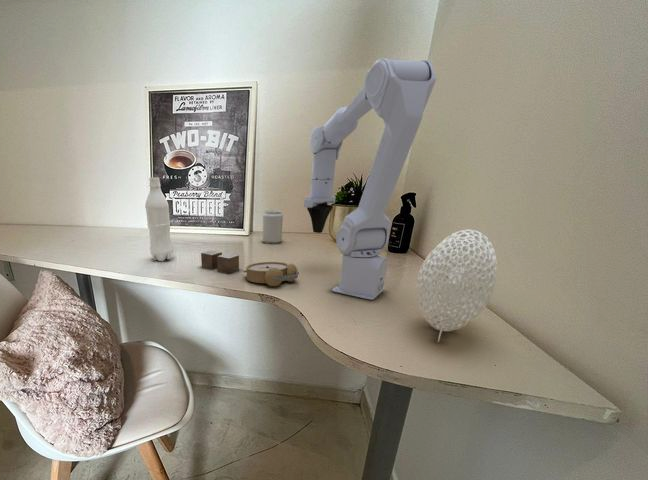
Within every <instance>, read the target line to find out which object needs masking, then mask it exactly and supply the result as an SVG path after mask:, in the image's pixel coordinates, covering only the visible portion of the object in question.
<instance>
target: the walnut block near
mask: <svg viewBox="0 0 648 480" xmlns="http://www.w3.org/2000/svg"><path fill="white" fill-rule="evenodd" d="M217 262H218V268H217V272H220V273H225V274H233V273H235V272H238V271H240V255H238V254H233V253H229V252H227V253H222V255H220V256H217Z"/></svg>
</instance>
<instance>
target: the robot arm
mask: <svg viewBox="0 0 648 480" xmlns="http://www.w3.org/2000/svg"><path fill="white" fill-rule="evenodd" d="M436 81H437V77H436V73H435V70H434V66H433V64H432V63H431V62H430V61H429V60H406V59H405V60H403V59H389V58H386V57H381V58H379V59H377V60H376V61H375V62H374V63H373V64H372V66H371V68H370V69H369V70H367V72H366V75H365V78H364V82H363V87H362V88H361V89H360V90H359V92H358V93H357V95H356V96H355V97H354V98H353V99H352V100H351V102H350V103H349V105H348V106H342V107H338V108H337V110H336V112H335V113H334V114H333V115H332V116H331V117H329V119H328V121H327V122H326V123H324V124H323V125H321V126H319V125H317V126H315V127H313V130H312V131H311V133H310V137H309V148H310V149H309V150H310V152H311V153H313V154H312V165H311V178H310V179H311V180H310V181H311V182H310V190H309V191H310V192H309V196H306V197H305V199H304V200H303V201H304V203H303V208H306V210H307V212H308V214H309V217H310V220H311V226H312V232H313V233H316V234H321V233H322V234H323V231H324V228H325V226H326V222H327V220H328V217H329V215H330V213H331V211H332V210H333V209H334V205H333V204H335V203H336V195H333V192H334V183H335V181H334V180H335V171H336V161H337V160H338V159H339V156H340V150H341V149H342V146H343V142H344V140H345V139H347V138H348V137H349V136H350V135H351V134H352V133H353V132H354V131H355V130H356V129H357V127H358V126H359V120H360V119H362V117H364V116H365V115H366V114H367V113H369V112H370V111H371V110H374V112H375V113H376V115H377V116H378V117H379V118H381V119H382V120H383V123H384V129H383V132H382V135H381V138H380V141H379V145H378V147H377V150H376V154H375V156H374V159H373V162H372V165H371V169H370V170H369V174H368V177H367V180H366V183H365V186H364V189H363V191H362V195H361V197H360V200H359V203H358V206H357V208H356V209H354V210H353V211H351V212H350V213H348V214H347V215H345V217H344V219H343V223H342V224H341V225H340V227H339V228H338V230H337V232H336V237H335V243H336V247H337V249H338V250H339V252H340V254H342V258H341V266H340V274H339V282H338V285H337V286H335V287H333V288H332V289H331V292H333V293H338V294H342V295H346V296H352V297H357V298H361V299H364V300H365V299H366V300H370V301H373V300H374V299H376V298H377V297H378V296H379V295H381V294H382V293H383V292H384V291H385V288H384V287H385V280H386V275H387V269H388V258H386V257H384V256H380V255H381V252H382V251H383V250H384V249H385V248H386V247H387V246H388V243H389V237H390V231H391V227H392V225H393V223H392V221H391V220H390V217H388V216H387V215H386V214H385V213H386V211H387V208H388V207H389V206H388V205H389V203H390V200H391V198H392V196H393V193H394V191H395V189H396V186H397V183H398V181H399V178H400V176H401V173H402V170H403V168H404V166H405V164H406V160H407V158H408V155H409V152H410V150H411V148H412V145H413V142H414V140H415V138H416V135H417V132H418V130H419V128H420V125H421V122H422V120H423V115H424V112H425V109H426V107H427V104H428V102H429V99H430V96H431V94H432V91H433V88H434V86H435V84H436Z"/></svg>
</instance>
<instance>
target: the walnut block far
mask: <svg viewBox="0 0 648 480" xmlns="http://www.w3.org/2000/svg"><path fill="white" fill-rule="evenodd" d="M220 255H223V252H221V251H217V250H207V251H203V252H200V258H201V259H200V261H201V263H200V264H201V268H202V269H207V270H210V271H211V270H212V271H213V270H216V269H218V262H217V256H220Z"/></svg>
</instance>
